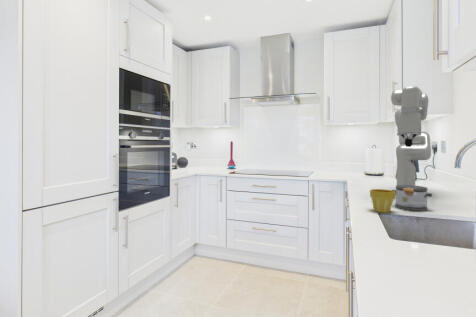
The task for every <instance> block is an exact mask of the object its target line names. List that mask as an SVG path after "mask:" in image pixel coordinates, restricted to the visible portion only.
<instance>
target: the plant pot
mask: <svg viewBox="0 0 476 317" xmlns="http://www.w3.org/2000/svg"><path fill="white" fill-rule="evenodd" d="M391 190H392V189H380V188H373V189H369V197H370V198H371V203H372V206H373V207H372V208H373V211H374V212H376V213H384V214H389V213H390V212H391V210H392V205H393V201H394V200H396V196H395V191H391Z"/></svg>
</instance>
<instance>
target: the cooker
mask: <svg viewBox="0 0 476 317" xmlns="http://www.w3.org/2000/svg"><path fill="white" fill-rule="evenodd" d="M390 190H391V191H395V193H396V196H395V203H394V207H395V208H396V209H398V208H399V210H402V209H403V211H407V210H409V211H408V212H426V211H428V197H431V198H432V197H433V193H431V192H428V190H427V191H423V192H417V191H413V192H411V191H403V190H399V189H396V188H395V189H390Z"/></svg>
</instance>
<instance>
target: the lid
mask: <svg viewBox="0 0 476 317" xmlns="http://www.w3.org/2000/svg"><path fill="white" fill-rule="evenodd" d="M396 189H399V190H403V191H411V192H413V191H417V192H423V191H427V192H428V187H427V186H422V185H415V186H414V185H397V184H396V185H395V190H396Z"/></svg>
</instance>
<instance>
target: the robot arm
mask: <svg viewBox="0 0 476 317" xmlns="http://www.w3.org/2000/svg"><path fill="white" fill-rule="evenodd" d="M390 101H391V104H392V105H393V106H399V107H401V108H400V109H397V110H396V111H395V113H394V121H395V125H396V127H397V129H396V130H397V133H396V136H398V143H399V145H398V146H397V147H396V148H395V156H396V165H397V166H396V186H397V185H414V186H416V170H417V169H416V166H415V164H414V163H413V162H412V161H427V160H429V159H430V158H431V156H432V147H431V146H432V145H431V137H430V134H429V132H427V131H422V122H423V121H425V120H426V119H427V117H428V108H429V96H428V95H427V93H424V92H423V91H422V90H421V88H419V87H418V86H407V87H404V88H402V89H395V90H393V91H392V92H391V95H390ZM395 197H396V193H395Z"/></svg>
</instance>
